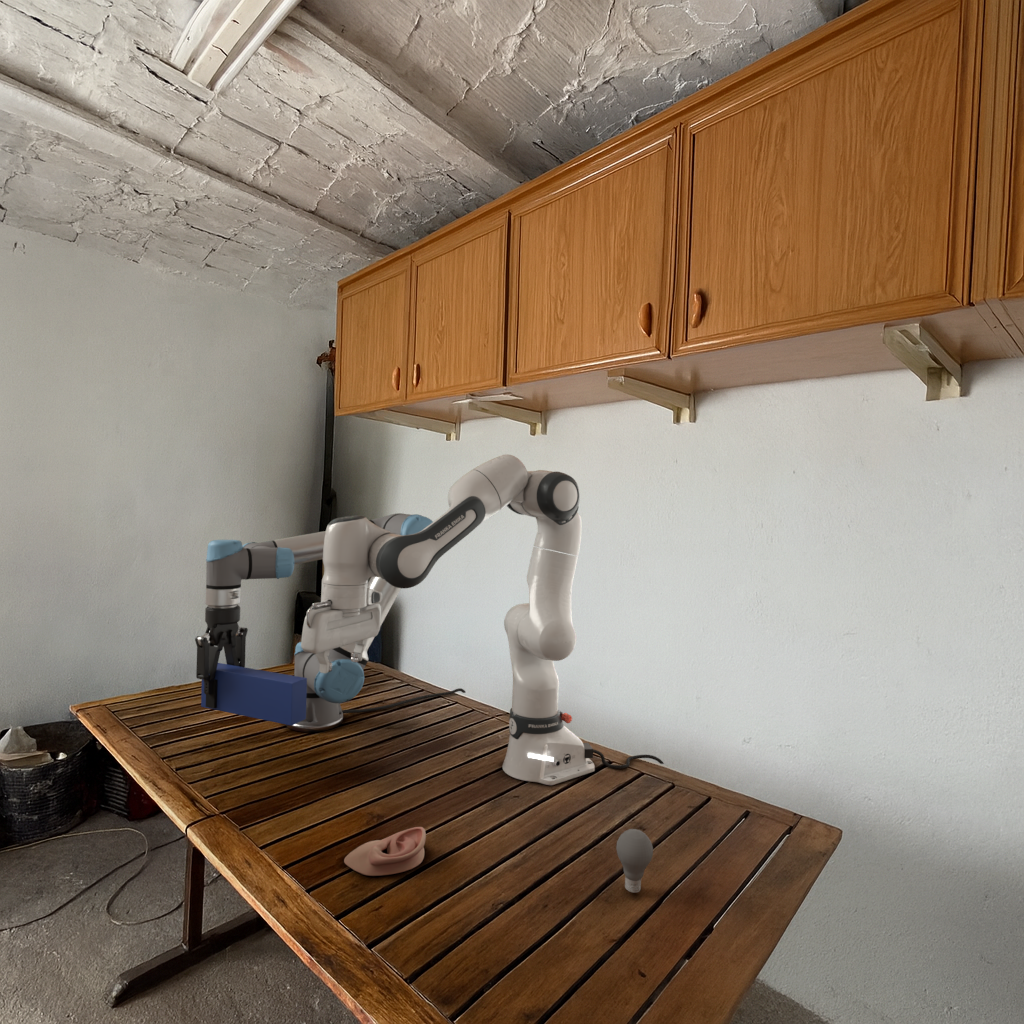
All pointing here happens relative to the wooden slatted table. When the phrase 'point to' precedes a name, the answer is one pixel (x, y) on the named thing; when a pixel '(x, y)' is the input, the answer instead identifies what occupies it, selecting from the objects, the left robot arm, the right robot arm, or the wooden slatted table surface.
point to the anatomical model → (389, 853)
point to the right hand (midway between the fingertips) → (341, 666)
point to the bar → (259, 694)
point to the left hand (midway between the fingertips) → (220, 703)
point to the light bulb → (634, 857)
